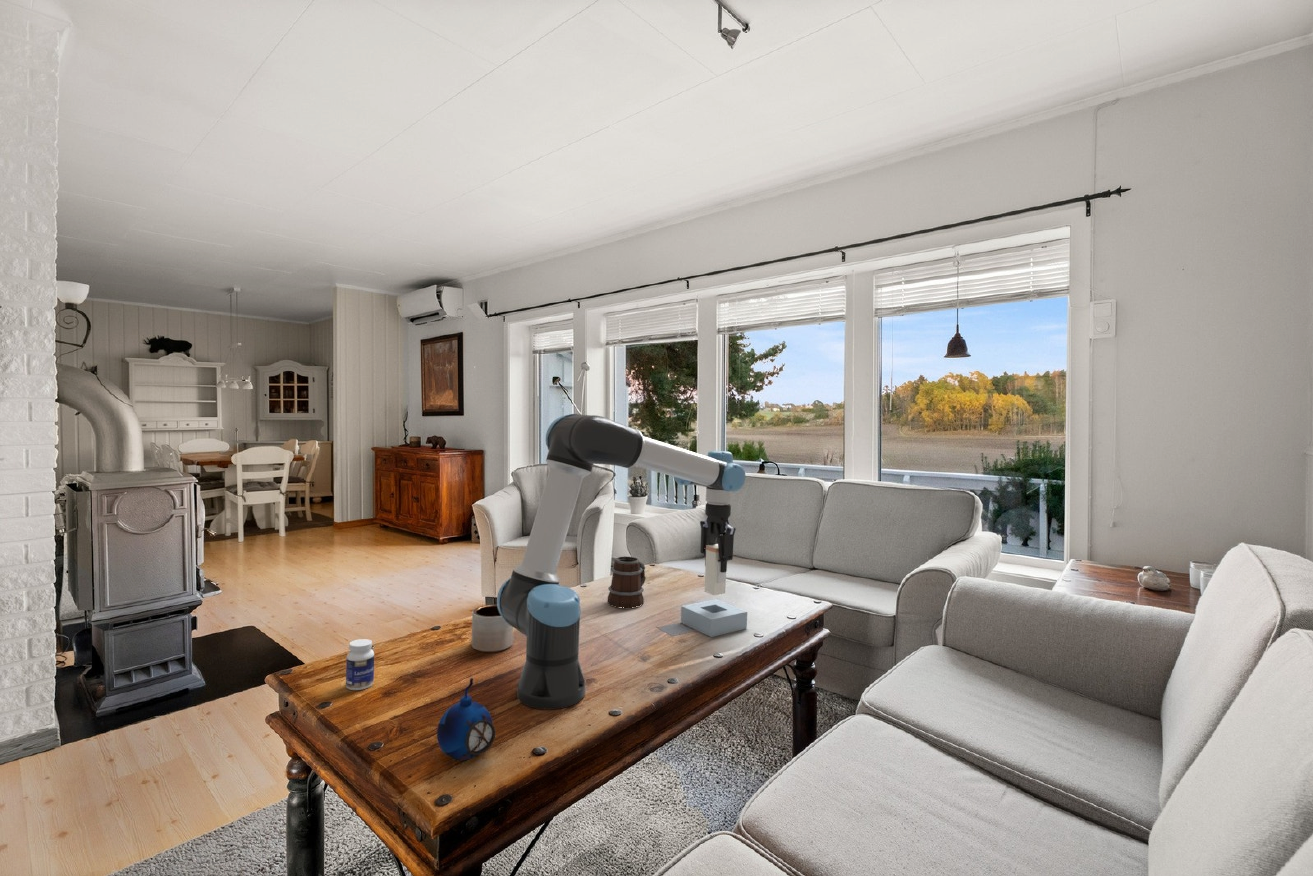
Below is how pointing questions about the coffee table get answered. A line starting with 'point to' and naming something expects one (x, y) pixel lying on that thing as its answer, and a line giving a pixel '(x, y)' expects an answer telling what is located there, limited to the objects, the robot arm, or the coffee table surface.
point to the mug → (627, 583)
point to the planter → (490, 630)
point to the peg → (713, 571)
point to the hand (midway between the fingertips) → (715, 580)
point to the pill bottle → (360, 665)
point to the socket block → (713, 617)
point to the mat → (675, 629)
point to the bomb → (465, 729)
